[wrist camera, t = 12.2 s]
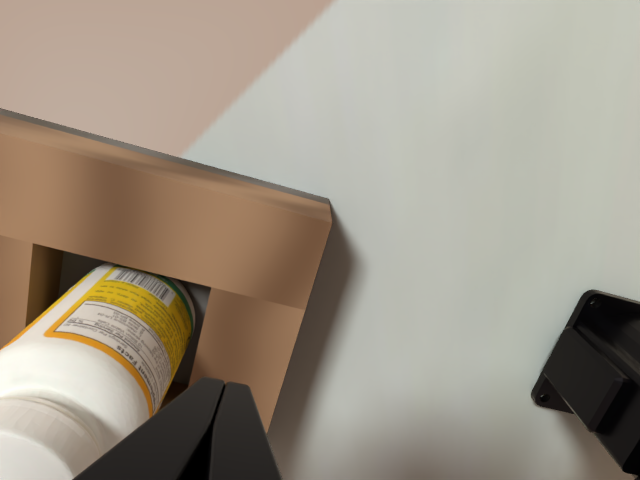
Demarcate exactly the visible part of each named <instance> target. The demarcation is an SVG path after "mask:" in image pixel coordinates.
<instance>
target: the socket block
mask: <svg viewBox="0 0 640 480" xmlns="http://www.w3.org/2000/svg"><path fill="white" fill-rule="evenodd" d="M331 226H332V217H331V211H330V204H329V199H327V198H324V197H320V196H316V195H313V194H309V193H306V192H302V191H298V190H295V189H291V188H287V187H284V186H280V185H277V184H273V183H269V182H266V181H262V180H258V179H255V178H251V177H248V176H244V175H240V174H237V173H233V172H229V171H226V170H222V169H219V168H215V167H211V166H208V165H204V164H200V163H197V162H193V161H190V160H186V159H182V158H179V157H174V156H171V155H168V154H164V153H161V152H157V151H153V150H149V149H146V148H142V147H139V146H135V145H132V144H128V143H124V142H121V141H117V140H113V139H109V138H106V137H103V136H99V135H95V134H91V133H88V132H84V131H81V130H77V129H73V128H70V127H66V126H62V125H59V124H55V123H51V122H48V121H44V120H41V119H37V118H34V117H30V116H26V115H23V114H19V113H15V112H12V111H8V110H5V109H1V108H0V349H2V348H3V347H4V346H5V345H6V344H7V343H9V342H10V341H11V340H12V339H13V338H14V337H16V336H17V335H18V334H19V333H20V332H21V331H23V330H24V329H25V328H26V327H27V326H28V325H29V324H31V323H32V322H33V321H34V320H35V319H36V318H38V317H39V316H40V315H41V314H42V313H43V312H44V311H46V310H47V309H48V308H49V307H50V306H51V305H52V304H53V303H55V302H56V301H57V300H58V299H59V298H60V297H61V296H63V295H64V294H65V293H66V292H67V291H68V290H69V289H70V288H71V287H73V286H74V285H75V284H76V283H78V282H79V281H80V280H81V279H82V278H83V277H84V276H86V275H87V274H88V273H89V272H91V271H92V270H93V269H95V268H97V267H99V266H101V265H103V264H105V263H108V262H111V263H115V264H119V265H124V266H128V267H132V268H136V269H140V270H144V271H148V272H152V273H156V274H160V275H164V276H168V277H172V278H176V279H177V280H178V281H179V282H180V283H181V284H182V285H183V286H184V288H185V289H186V291H187V292H188V294H189V296H190V298H191V301H192V303H193V306H194V311H195V329H194V332H193V335H192V337H191V340H190V342H189V344H188V347H187V349H186V351H185V353H184V356H183V358H182V360H181V362H180V364H179V367H178V369H177V371H176V373H175V375H174V377H173V380H172V382H171V384H170V386H169V388H168V390H167V393H166V395H165V397H164V399H163V401H162V403H161V406H160V408H159V410H161V409H162V408H163V407H165V406H166V405H167V404H168V403H170V402H171V401H172V400H173V399H175V398H176V397H177V396H178V395H180V394H181V393H182V392H184V391H185V390H186V389H187V388H189V387H190V386H191V385H192V384H194V383H195V382H196V381H198V380H199V379H200V378H201V377H204V376H205V377H211V378H216V379H221V380H224V381H225V385H226V383H227V382H229V381H231V382H236V383H241V384H246V385H248V386H249V387H250V389H251V392H252V394H253V397H254V400H255V403H256V406H257V409H258V411H259V414H260V417H261V420H262V423H263V425H264V428H265V431H266V434H267V432H268V429H269V426H270V422H271V419H272V416H273V413H274V409H275V406H276V403H277V400H278V397H279V393H280V390H281V387H282V384H283V380H284V377H285V374H286V371H287V368H288V364H289V361H290V358H291V355H292V351H293V348H294V345H295V342H296V339H297V335H298V332H299V329H300V326H301V322H302V319H303V316H304V313H305V310H306V306H307V303H308V300H309V297H310V293H311V290H312V287H313V284H314V280H315V277H316V274H317V271H318V268H319V264H320V261H321V258H322V255H323V251H324V248H325V245H326V242H327V239H328V235H329V232H330V229H331ZM159 410H158V411H159Z"/></svg>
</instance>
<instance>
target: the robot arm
mask: <svg viewBox="0 0 640 480" xmlns="http://www.w3.org/2000/svg"><path fill="white" fill-rule="evenodd" d="M595 298H596V301H595V302H594V303H592V304H590V303H591V301H592V300H593V299H595ZM543 394H545V396H543V397H541V396H542V395H543ZM531 395H532V398H533V399H534V401H535V402H536V403H537V405H539V406H542V407H547V408H551V409H555V410H559V411H563V412H568V413H572V414H575V415H576V416H577V417H578V419H579V420H580V421H581V422H582V424H583V425H584V426H585V428H586V429H587V430H588V431H589V432H592V433H593V434H594V435H595V436H596V438H597V439H598V440H599V441H600V443H601V444H602V445H603V447H604V448H605V449H606V450H607V452H608V453H609V454H610V455H611V457H612V458H613V459H614V460H615V462H616V463H617V464H618V465H619V467H620V468H621V469H622V471H624V472H625V473H629V474H632V475H633V476H634V478H635V479H634V480H640V302H639V301H635V300H631V299H628V298H624V297H620V296H617V295H613V294H609V293H606V292H602V291H598V290H589V291H587V292H585V293H584V294H583V295H582V297H581V298H580V300H579V302H578V304H577V306H576V308H575V310H574V312H573V314H572V316H571V318H570V319H569V321H568V323H567V325H566V327H565V329H564V331H563V332H562V334H561V336H560V338H559V340H558V342H557V344H556V346H555V348H554V350H553V352H552V353H551V355H550V357H549V359H548V361H547V363H546V365H545V367H544V369H543V371H542V373H541V375H540V377H539V379H538V381H537V383H536V385H535V386H534V388H533V390H532V393H531ZM72 480H283V479H282V476H281V473H280V470H279V468H278V465H277V462H276V459H275V456H274V454H273V451H272V448H271V445H270V442H269V440H268V437H267V434H266V431H265V428H264V425H263V423H262V420H261V417H260V414H259V411H258V409H257V406H256V403H255V400H254V397H253V394H252V392H251V389H250V387H249V386H248V385H246V384H241V383H236V382H231V381H229V382H227V383H226V385H225V381H224V380H221V379H216V378H211V377H205V376H204V377H201V378H200V379H199V380H198V381H196V382H195V383H194V384H192V385H191V386H190V387H189V388H187V389H186V390H185V391H184V392H182V393H181V394H180V395H178V396H177V397H176V398H175V399H173V400H172V401H171V402H170V403H168V404H167V405H166V406H165V407H163V408H162V409H161V410H159V411H158V412H157V413H156V414H154V415H153V416H152V417H151V418H149V419H148V420H147V421H145V422H144V423H143V424H142V425H140V426H139V427H138V428H137V429H135V430H134V431H133V432H132V433H130V434H129V435H128V436H126V437H125V438H124V439H123V440H121V441H120V442H119V443H118V444H116V445H115V446H114V447H112V448H111V449H110V450H109V451H107V452H106V453H105V454H104V455H102V456H101V457H100V458H99V459H97V460H96V461H95V462H93V463H92V464H91V465H90V466H88V467H87V468H86V469H85V470H83V471H82V472H81V473H79V474H78V475H77V476H76V477H74V478H73V479H72Z"/></svg>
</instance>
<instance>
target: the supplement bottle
mask: <svg viewBox="0 0 640 480" xmlns="http://www.w3.org/2000/svg"><path fill="white" fill-rule="evenodd" d="M194 329H195V311H194V306H193V303H192V301H191V298H190V296H189V294H188V292H187V291H186V289H185V288H184V286H183V285H182V284H181V283H180V282H179V281H178V280H177V279H176V278H172V277H168V276H164V275H160V274H156V273H152V272H148V271H144V270H140V269H136V268H132V267H128V266H124V265H119V264H115V263H111V262H108V263H105V264H103V265H101V266H99V267H97V268H95V269H93V270H92V271H91V272H89V273H88V274H87V275H86V276H84V277H83V278H82V279H81V280H80V281H79V282H78V283H76V284H75V285H74V286H73V287H71V288H70V289H69V290H68V291H67V292H66V293H65V294H64V295H63V296H61V297H60V298H59V299H58V300H57V301H56V302H55V303H53V304H52V305H51V306H50V307H49V308H48V309H47V310H46V311H44V312H43V313H42V314H41V315H40V316H39V317H38V318H36V319H35V320H34V321H33V322H32V323H31V324H29V325H28V326H27V327H26V328H25V329H24V330H23V331H21V332H20V333H19V334H18V335H17V336H16V337H14V338H13V339H12V340H11V341H10V342H9V343H7V344H6V345H5V346H4V347H3V348H2V349H0V480H72V479H73V478H74V477H76V476H77V475H78V474H79V473H81V472H82V471H83V470H85V469H86V468H87V467H88V466H90V465H91V464H92V463H93V462H95V461H96V460H97V459H99V458H100V457H101V456H102V455H104V454H105V453H106V452H107V451H109V450H110V449H111V448H112V447H114V446H115V445H116V444H118V443H119V442H120V441H121V440H123V439H124V438H125V437H126V436H128V435H129V434H130V433H132V432H133V431H134V430H135V429H137V428H138V427H139V426H140V425H142V424H143V423H144V422H145V421H147V420H148V419H149V418H151V417H152V416H153V415H154V414H156V413H157V412H158V410H159V408H160V406H161V403H162V401H163V399H164V397H165V395H166V393H167V390H168V388H169V386H170V384H171V382H172V380H173V377H174V375H175V373H176V371H177V369H178V367H179V364H180V362H181V360H182V358H183V356H184V353H185V351H186V349H187V347H188V344H189V342H190V340H191V337H192V335H193V332H194Z"/></svg>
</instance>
